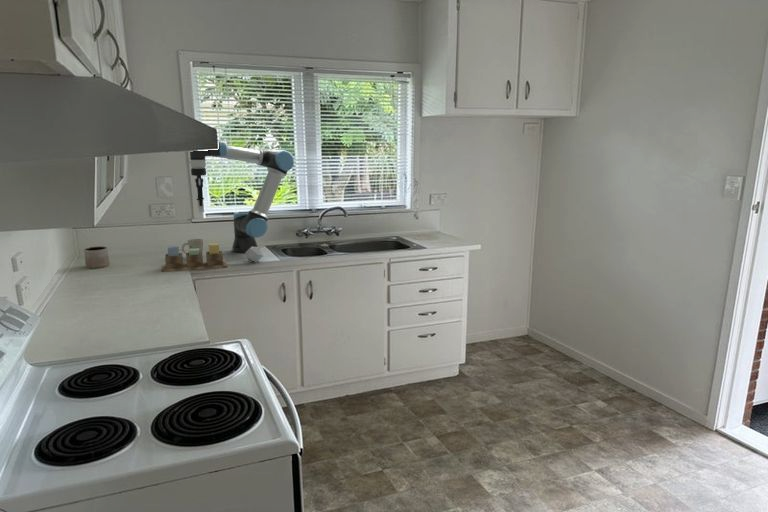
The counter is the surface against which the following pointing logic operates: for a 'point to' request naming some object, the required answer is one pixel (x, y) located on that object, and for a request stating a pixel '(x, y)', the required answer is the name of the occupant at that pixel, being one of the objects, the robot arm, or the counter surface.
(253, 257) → the die
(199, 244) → the mug
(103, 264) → the planter
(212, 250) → the button ochre
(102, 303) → the counter surface
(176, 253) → the button slate
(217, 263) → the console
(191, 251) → the button sage
